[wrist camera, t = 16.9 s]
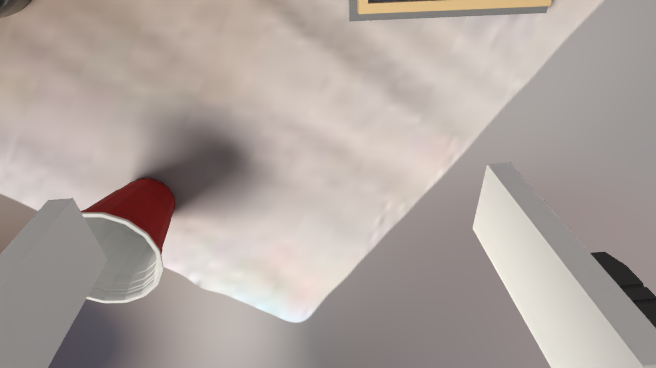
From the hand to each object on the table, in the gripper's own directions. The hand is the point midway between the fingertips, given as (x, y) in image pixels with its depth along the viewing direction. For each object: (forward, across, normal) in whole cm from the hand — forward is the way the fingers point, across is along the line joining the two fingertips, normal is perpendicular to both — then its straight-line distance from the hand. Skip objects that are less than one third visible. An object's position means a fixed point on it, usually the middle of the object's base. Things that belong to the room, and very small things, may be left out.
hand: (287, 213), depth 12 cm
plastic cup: (+28, -19, -19) cm, 39 cm away
